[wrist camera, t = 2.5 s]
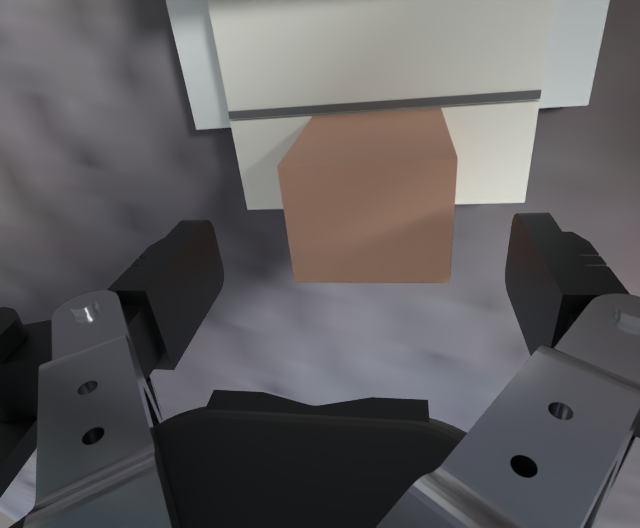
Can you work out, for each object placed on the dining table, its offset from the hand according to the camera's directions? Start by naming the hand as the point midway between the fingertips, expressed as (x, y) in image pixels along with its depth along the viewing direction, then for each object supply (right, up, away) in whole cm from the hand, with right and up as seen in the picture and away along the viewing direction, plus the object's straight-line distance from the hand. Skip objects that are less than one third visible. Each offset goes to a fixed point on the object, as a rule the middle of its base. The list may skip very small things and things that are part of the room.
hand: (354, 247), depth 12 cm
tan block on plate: (+2, +4, +7) cm, 8 cm away
